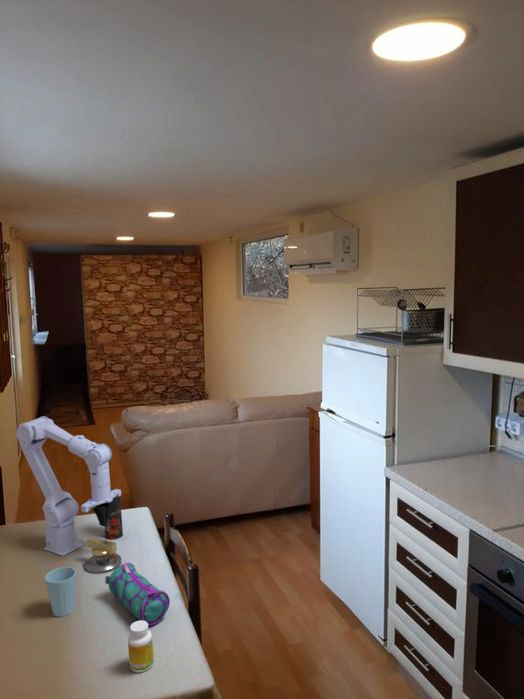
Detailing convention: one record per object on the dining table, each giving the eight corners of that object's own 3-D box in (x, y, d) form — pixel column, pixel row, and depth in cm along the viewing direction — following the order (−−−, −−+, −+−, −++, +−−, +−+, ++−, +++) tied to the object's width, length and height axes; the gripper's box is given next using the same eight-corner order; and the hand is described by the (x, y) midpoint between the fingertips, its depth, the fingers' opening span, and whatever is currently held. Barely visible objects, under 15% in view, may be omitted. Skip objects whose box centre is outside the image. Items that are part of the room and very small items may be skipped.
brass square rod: (107, 560, 165) (107, 548, 164) (83, 553, 169) (82, 542, 169) (121, 550, 170) (120, 539, 169) (96, 544, 174) (96, 534, 174)
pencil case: (106, 598, 152) (103, 566, 151) (135, 586, 158) (133, 554, 156) (142, 634, 136) (139, 598, 135) (173, 619, 142) (171, 584, 140)
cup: (79, 599, 152) (76, 564, 150) (78, 616, 144) (75, 579, 143) (50, 605, 149) (46, 569, 148) (47, 622, 142) (44, 584, 141)
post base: (76, 567, 168) (75, 553, 168) (104, 551, 178) (103, 537, 177) (102, 577, 163) (100, 562, 162) (128, 560, 172) (127, 545, 171)
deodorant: (125, 531, 191) (122, 490, 189) (119, 540, 185) (116, 497, 183) (109, 531, 192) (105, 490, 190) (102, 539, 186) (99, 497, 184)
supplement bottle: (152, 672, 123) (149, 632, 122) (127, 674, 123) (125, 634, 121) (155, 655, 128) (152, 617, 127) (131, 657, 128) (129, 619, 127)
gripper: (91, 494, 163) (94, 537, 165) (126, 478, 176) (129, 518, 178) (75, 490, 167) (78, 532, 169) (111, 474, 179) (114, 514, 181)
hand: (103, 525), depth 173 cm, fingers closed
